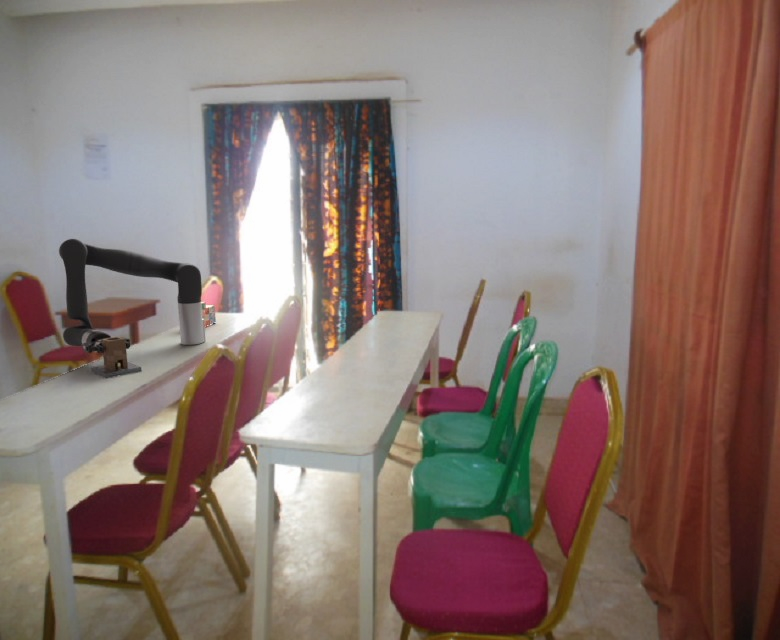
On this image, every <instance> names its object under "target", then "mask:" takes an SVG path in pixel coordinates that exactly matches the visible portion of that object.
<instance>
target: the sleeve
mask: <svg viewBox="0 0 780 640" xmlns="http://www.w3.org/2000/svg"><path fill="white" fill-rule="evenodd" d="M121 337H122V336H113V337H112V336H111V338H105V339H102V346H103V347H104V353H102V357H103V365H104V368H107V369H109V370H115V361H117V360H118V361H119V362H120V363H121V366H122V367H123V368H126V367H128V364H127V362H128V354H127V349H126V342H125V339H124V338H125V337H124V338H121Z"/></svg>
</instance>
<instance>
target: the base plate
mask: <svg viewBox="0 0 780 640" xmlns="http://www.w3.org/2000/svg"><path fill="white" fill-rule="evenodd" d="M127 364H128V367H126V368H123V367H122V366H121V363H120V362H119V361H118V360H117V361H115V370H109V369H107V368H104V364H103V365H97V366H94V367H93V366H91V367H90V370H91V373H93V372H94V373H93V374H95V373H96V375H97V374H98V376H99V377H102V376H103V377H102V378H104V377H105V378H104V379H109V378H108V377H110V378H113V376H115V377H118V375H120V376H125V375H129V374H134V373H138V371H139V372H142V366H141V365H137V364H134V363H132V362H131V361H130V362H129V361H127Z"/></svg>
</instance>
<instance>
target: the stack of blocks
mask: <svg viewBox="0 0 780 640" xmlns="http://www.w3.org/2000/svg"><path fill="white" fill-rule="evenodd" d="M201 307H202V319H204V325H205V326H207V325H210V324H212V323H214V322H216V323H217V320H216V310H215V309H216V308H215V305H213V304H212V305H211V304H209V305H207V304H206V301H201Z"/></svg>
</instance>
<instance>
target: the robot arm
mask: <svg viewBox="0 0 780 640" xmlns="http://www.w3.org/2000/svg"><path fill="white" fill-rule="evenodd" d="M58 253H59V256H60V258H61V260H62V261H63V264H64V270H65V277H66V279H65V280H66V287H65V288H66V293H65V299H66V300H65V301H66V314H67V318H68V320H71V321H72V320H73V321H79V322H80V323H81V325H75V326H68V327H66V328H65V329H64V331H63V334H62V338H63V340H64V342H65V344H67V345H68V346H72V347H83V351H84V352H86V353H89V354H92V353H93V352H94V353H97V354H103V353H104V347H103V346H102V339H105V338H112V336H111V335H110V334H108V333H107V332H104V331H100V330H96V329H95V328H94V327H93V324H92V322H91V319H90V316H89V315H90V314H89V306H88V295H87V284H86V266H91V267H92V266H93V267H98V268H102V269H106V270H109V271H112V272H116V273H120V274H123V275H129V276H132V277H133V276H134V277H140V278H158V279H164V280H168V281H172V282H175V283H177V288H178V289H177V290H178V292H177V293H178V294H177V297H176V298H177V309H178V310H177V311H178V322H179V324H178V325H179V336H180V339H179V340H180V344H181V345H183V346H184V345H185V346H186V345H187V346H189V345H190V346H191V345H192V346H193V345H199V344H202V343H204V342H206V328H205V325H204V319H202V307H201V302H202V296H203V294H202V291H203V290H202V276H201V273H202V272H201V271H200V268H199V267H198V266H196V265H194V264H191V263H188V262H178V261H177V262H175V261H169V260H168V261H167V260H163V259H161V258H160V259H159V258H157V257H154V256H152V255H148V254H144V253H141V252H136V251H131V250H124V249H117V248H103V247H97V246H95V245H91V244H87V243H84V242H83V241H82V240H80V239H77V238H69V239H66V240H65V241H63V242H62V243H61V244H60V245H59V248H58ZM120 337H121V338H124V339H125V342H126V350H128V349H129V350H130V348H131V339H130V338H127V337H124V336H123V337H122V336H120Z"/></svg>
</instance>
